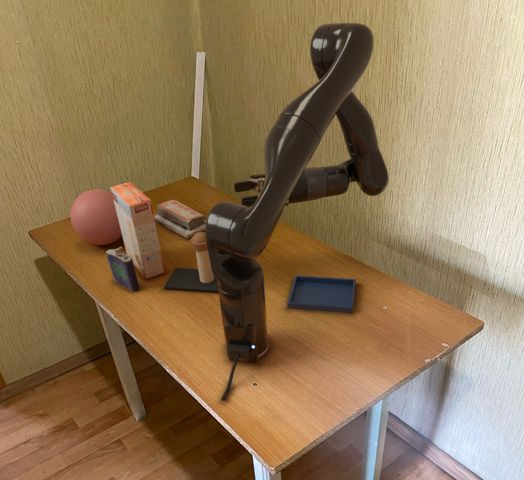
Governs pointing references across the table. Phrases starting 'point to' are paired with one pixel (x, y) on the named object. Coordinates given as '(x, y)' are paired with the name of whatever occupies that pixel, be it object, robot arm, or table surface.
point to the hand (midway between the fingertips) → (238, 195)
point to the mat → (190, 281)
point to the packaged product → (180, 218)
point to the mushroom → (202, 257)
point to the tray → (322, 294)
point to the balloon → (96, 217)
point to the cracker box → (138, 229)
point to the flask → (122, 269)
